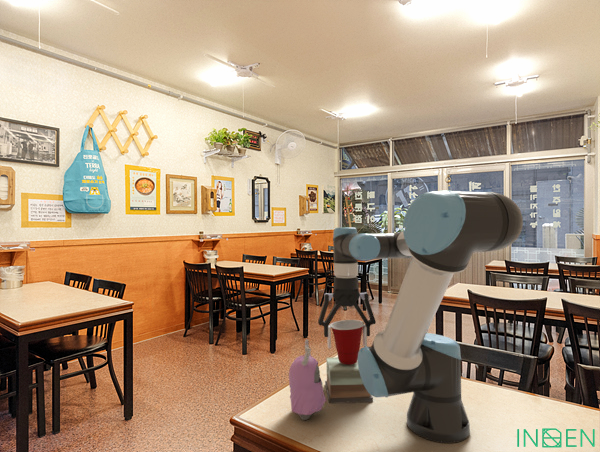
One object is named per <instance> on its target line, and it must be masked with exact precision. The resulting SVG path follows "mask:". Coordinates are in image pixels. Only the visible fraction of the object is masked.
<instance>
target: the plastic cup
mask: <svg viewBox="0 0 600 452" xmlns="http://www.w3.org/2000/svg"><path fill="white" fill-rule="evenodd" d="M329 325H330V327H331V331H332V334H333V337H334V344H335V348H336V352H337V353H336V354H337V358H338V359H339V362H341V363H343V364H355V363H357V360H358V353H359V350H360V349H361V343H362V341H361V340H362V336H363V326H364V325H365V323H364V321H363V320H362V321H361V320H359V319H358V320H357V319H345V320H344V319H343V320H337V321H334V322H330V324H329Z"/></svg>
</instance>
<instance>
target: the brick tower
mask: <svg viewBox="0 0 600 452" xmlns="http://www.w3.org/2000/svg"><path fill="white" fill-rule="evenodd" d="M324 385H325V389H326V394H327V399H328V403H329V404H335V403H337V404H338V403H339V404H341V403H343V404H344V403H373V402H374V396H372V395H370V394H369V393H368V391H367V390H366V388H365V386H364V384H363V382H362V379H361V376H360V372H359V367H358V360H357V363H355V364H343V363H341V362H339V359H338V357H326V380H324Z"/></svg>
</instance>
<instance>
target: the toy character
mask: <svg viewBox="0 0 600 452" xmlns="http://www.w3.org/2000/svg"><path fill="white" fill-rule="evenodd" d="M309 342H310V340H309V339H305V340H304V351H305V353H304V354H303V355H299V356H297V357H296V358H295V359H294V360H293V362H291V364H290V367H289V371H288V381H289V382H288V383H289V388H290V389H289V392H290V396H289V398H290V405H291V409H290V410H291V412H293V413H295V414H298V417H299V418H300V419H301V420H303V421H308V419H309V418H310V417H312V414H315V413H317V412H320V411H322V408H323V406H324V404H325V403H326V402H327V398H326V396H325V394H324V389H323V388H324V387H323V381H322V378H321V371H320V367H319V361H318V360H317V359H316V358H315V357H314V356H312V355H311V351H312V348H310V346H309V345H310V344H309Z"/></svg>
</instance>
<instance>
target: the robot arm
mask: <svg viewBox="0 0 600 452" xmlns="http://www.w3.org/2000/svg"><path fill="white" fill-rule="evenodd" d="M404 215H405V216H404V218H403V224H402V226H403V228H404V230H402V231H399V232H389V233H384V232H383V233H378V232H377V233H362V232H361V233H358V230H357V228H356V227H352V226H351V227H335V228H334V229H333V237H332V241H333V243H332V245H333V275H334V277H333V286H334V287H333V292H332V293H327V292H325V293H324V296H323V297H324V298H323V299H324V301H323V303H322V307H321V310H320V313H319V317H318V320H317V322H318V325H319V326H322V327H323V335H324V338H327V348H328V349H329V350H330V349H331V348H332V336H331V335H332V333H331V331H332V328H331V327H330V324H331V323H332V320H333V318H335V315H336V313H337V311H338V310H339V309H340V307H353V308H354V309H355V310H356V312H357V313H358V315H359V316H360V318H361V319H362V322H364V326H363V330H362V346H363V347H362V348H361V347H360V349H359V353H358V367H359V372H360V376H361V379H362V382H363V384H364V386H365V388H366V390H367V391H368V393H369V394H370V395H372V397H373V398H389V397H393V396H398V395H404V394H409V393H413V394H412V396H411V399H410V403H409V406H408V409H407V412H406V426H408V429H409V430H410V431H412V433H414V434H415V435H417V436H419V437H421V438H423V439H425V440H429V441H431V442H437V443H442V444H443V443H444V444H445V443H447V444H451V443H460V442H462V441H464V440H466V439H467V438H469V436H470V432H471V429H470V425H471V424H470V421H469V417H468V413H467V411H466V409H465V407H464V404H463V400H462V357H461V347H460V344H459V343H458V342H457V341H456V340H455V339H453V338H450V337H448V336H445V335H441V334H437V333H429V332H428V331H429V329H430V327H431V325H432V322H433V320H434V318H435V315H436V313H437V311H438V310H439V307H440V305H441V303H442V301H443V298H444V296H445V295H446V292H447V291H448V290H447V289H448V288H449V285H450V284H451V281H452V279H453V277H454V275H455V274H458V273H459V274H460V273H462V272H464V271H465V270H466V268H467V266H468V265H469V263H470V260H471V259H472V257H473V254H474V253H481V252H484V253H485V252H495V251H499V250H503V249H505V248H508V247H509V246H511V245H512V244H514V243H515V242H516V241H517V239H518V238H519V236H520V235H521V234H522V233H521V232H522V230H523V227H524V226H523V225H524V221H523V215H522V212H521V210H520V207H519V206H518V205H517V204H516V203H515V201H514V200H512V199H511V198H510V197H508V196H506V195H505V194H501V193H498V192H493V191H453V190H451V189H450V190H448V189H442V190H438V191H437V190H436V191H427V192H424V193H423V194H420V195H419V196H417V197H416V198H415V199H413V201H412V202H411V204H410V205H409V206H408V208H407V210H406V212H405V214H404ZM410 258H411V259H410ZM382 259H383V260H384V259H385V260H386V259H410V261H409V263H408V264H409V265H408V266H407V269H406V272H405V274H404V278H403V280H402V283H401V285H400V288H399V291H398V293H397V295H396V299H395V302H394V304H393V307H392V309H391V312H390V315H389V317H388V321H387V322H386V323H387V324H386V325H385V328H384V330H381V331H380V332H378V333H377V334H376V335H375V337H374V339H373V341H372V345H371V346H368V337H370V336H371V326H372V325H375V324H376V321H377V320H376V319H375V314H374V312H373V310H372V306H371V304H370V301H369V298H370V297H369V296H370V295H369V293H367V292H366V291H364V292H360V291H359V277H357V276H358V275H359V267H358V265H359V263H358V262H359V261H361V262H362V261H366V262H367V261H368V262H369V261H372V260H382ZM333 298H334V300H335V303H334V305H333V306H332V308H331V310H330V311H329V313H328V315H327V316H326V313H327V310H328V307H329V304H330V303H329V302H330V301H331V300H332V299H333ZM359 298H360V299H361V300H363V303H364V307H365V309H366V312H367V315H368V318H369V320H368V318H367V317H366V315H365V313H364V312H363V310H362V308H361V307H360V305H359V304H358V302H357V301H358V300H359ZM325 317H326V319H325Z"/></svg>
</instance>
